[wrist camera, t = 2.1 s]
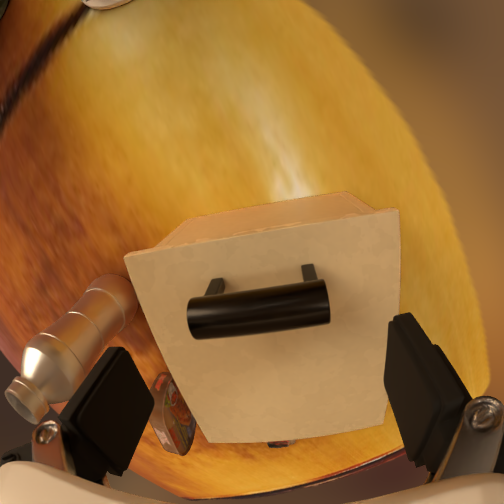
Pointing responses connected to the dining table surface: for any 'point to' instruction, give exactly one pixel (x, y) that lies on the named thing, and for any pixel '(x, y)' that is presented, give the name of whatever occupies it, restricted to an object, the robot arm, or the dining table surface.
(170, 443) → the tin
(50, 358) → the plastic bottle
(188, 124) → the dining table surface
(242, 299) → the bin lid
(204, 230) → the bin
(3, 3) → the rose bouquet
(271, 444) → the matchbox
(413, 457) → the robot arm
